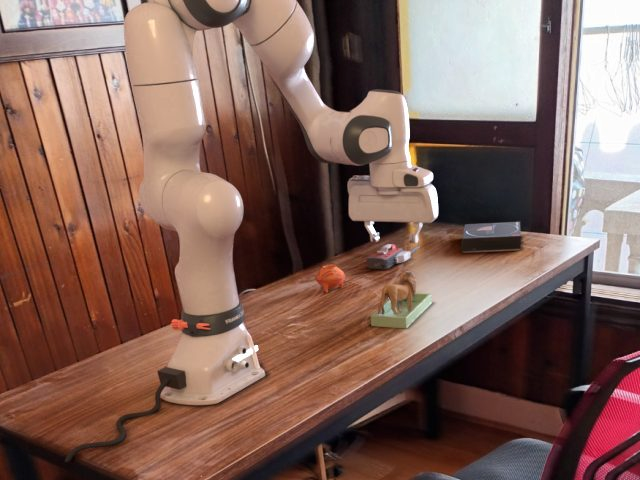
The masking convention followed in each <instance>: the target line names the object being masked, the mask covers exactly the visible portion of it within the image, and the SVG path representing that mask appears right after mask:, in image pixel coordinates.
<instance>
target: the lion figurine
mask: <svg viewBox="0 0 640 480" xmlns="http://www.w3.org/2000/svg"><path fill="white" fill-rule="evenodd" d="M399 277H400V278H399V280H398V284H393V283H389V284H386V285H384V286H383V288H382V290H381V297H380V301H379V303H378V305H377V310H378V315H382V314H384V313H385V311H384V304H385V303H386V302H387V301H388V300H390V301H391V304H392V306H391V309H392V311H393V313H394V314H395V315H399V314H400V313H399V312H402V300H407V301H408V307H407V310H408V312H410V311H412V310H411V306H412V297H413V296H414V295H415V293H417V289H416V288H417V280H416V279H417V278H416V276H415V274H414V273H413V272H412V271H409V270H405V271H403V272H401V273H400V274H399ZM397 301H398V310H397V311H399V312H397V311H396V309H395V306H396V302H397ZM381 308H382V311H381Z"/></svg>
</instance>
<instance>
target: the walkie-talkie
mask: <svg viewBox="0 0 640 480" xmlns="http://www.w3.org/2000/svg"><path fill="white" fill-rule="evenodd" d="M420 248H421V247H420V245H416V246H415V247H413V248H412V249H410V250H404V249H403V248H402V247H396V244H393V243H392V244H391V243H387V244H385V245H383V246H382V247H381V248H380V250H377V251H376V252H375V253H374V254H372V255H370V256H368V257H367V258H366V265H367V269H370V270H385V271H386V270H388V269H390V268H391V267H393V266H394V265H396V264H402V263H404V262H406V261H408V260H410V259H411V255H412V254H413V253H415V252H417V250H418V249H420Z"/></svg>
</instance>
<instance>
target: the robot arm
mask: <svg viewBox="0 0 640 480" xmlns="http://www.w3.org/2000/svg"><path fill="white" fill-rule="evenodd" d="M230 24H233V25H234V26H235V27H236V28H237V29H238V31H239V32H240V33H241V35H242V36H243V38H244V39H245V41H246V42H247V43H248V44H249V46H250V47H251V49H252V50H253V52H254V53H255V55H256V56H257V57H258V59H259V60H260V61H261V63H262V64H263V65H264V67H265V69H266V71H267V73H268V75H269V77H270V79H271V81H272V83H273V84H274V86H275V88H276V90H277V91H278V92H279V94H280V95H281V97H282V99H283V101H284V102H285V103H286V105H287V107H288V108H289V110H290V111H291V113H292V115H293V116H294V118H295V119H296V121H297V123H298V125H299V126H300V128H301V131H302V135H303V137H304V140H305V143H306V146H307V149H308V151H309V153H310V154H311V156H312V157H313V158H314V159H315V160H317V161H318V162H320V163H323V164H341V165H347V166H358V167H360V166H365V165H368V164H369V165H368V166H369V174H368V175H367V174H365V175H358V174H357V175H352V177H350V178H349V179H348V181H347V193H348V217H349V218H350V219H351V221H353V222H364V227H365V229H366V230H367V232H368V234H369V241H370V242H372V243H377V242H380V232H377V231H376V230H375V228H374V226H373V225H374V224H375V222H379V223H380V222H382V223H384V222H385V223H412V225H413V226H412V227H413V228H414V229H415V230H414V231H413V233H411V234H409V235H408V238H409V239H408V240H409V241H408V242H409V244H418V243H419V234H420V232H421V230H422V228H423V225H424V224H432V223H433V222H434V221H435V220H436V219H438V216H439V203H438V202H439V201H438V193H437V189H436V187H435V186H434V185H433V184H432V182H433V180H434V173H433V172H432V171H431V170H429V169H426V168H423V167H420V166H418V165H415V164H412V159H411V158H412V157H411V154H410V150H409V142H410V136H411V135H410V134H411V133H410V118H409V109H408V105H407V100H406V98H405V96H404V95H403V94H402V93H401V92H400V91H396V90H389V89H378V88H377V89H371V90H369V91H368V92H367V95H366V97H364V99H363V100H362V102H360V103H359V104H358V105H357V106H356V107H354V108H352V109H351V110H349V111H338V110H335V109H333V108H331V107H329V106H328V105H326V104H325V103H324V102H323V100H322V99H321V97H320V95H319V94H318V92H317V90H316V88H315V87H314V85H313V83H312V82H311V80H310V78H309V77H308V74H307V73H306V70H305V65H306V64H307V62H308V61H309V59H310V58H311V56H312V53H313V50H314V45H315V32H314V30H313V28H312V25H311V22H310V21H309V18H308V17H307V15H306V13H305V11H304V9H303V8H302V6H301V5H300V4H299V2H298V0H141V3H140V4H138V5H137V4H136V5H135V6H134V7H132V8H131V9H130V10H128V12H127V13H126V15H125V17H124V20H123V39H124V50H125V58H126V64H127V65H126V66H127V70H128V75H129V80H130V85H131V90H132V94H133V98H134V103H135V107H136V112H137V116H138V121H139V126H140V130H141V137H142V147H143V148H142V151H143V177H142V180H141V182H140V184H139V189H138V201H139V203H140V207H141V209H142V211H143V212H144V214H145V215H146V216H147V217H148V218H150V220H152V221H153V222H154V223H156V224H157V225H159V226H160V227H161V228H163V229H165V230H170V231H173V232H176V233H177V236H178V239H179V257H178V258H179V259H178V262H177V263H176V266H175V268H174V276H175V280H176V285H177V290H178V294H179V298H180V303H181V307H182V309H181V315H180V316H181V317H180V319H176V318H174V319H173V318H172V320H171V323H170V328H171V329H172V330H173V331H178V330H179V331H181V332H182V333H181V335H180V338H179V340H178V342H177V344H176V346H175V348H174V350H173V352H172V355H171V357H170V359H169V361H168V362H167V366H164V367H162V368H160V369H158V370H157V376H158V379H159V384H160V385H159V386H158V387H157V389H156V390H155V391H156V392H155V394H154V400H155V401H154V402H155V405H154V406H153V407H152V408H151V409H148V410H146V411H140V412H132V413H125V414H124V415H122V416H120V417H119V418H118V419H117V420H116V422H115V425H116V428H117V430H118V432H119V435H118V436H117V437H116V438H114V439H111V440H106V441H95V442H87V443H83V444H80V445H78V446H75V447H74V448H72V449H71V450H70V451H69V452H68V454H67V455H66V456H65V458H64V462H65V463H68V462H71V461H72V459H73V458H74V457H75V455H76V454H78V453H80V452H81V451H85V450H88V449H89V450H90V449H95V448H97V449H98V448H108V447H112V446H115V445H118V444H120V443H121V442H122V441H124V439H125V438H126V436H127V433H126V429H125V428H124V427H123V425H122V424H123V423H124V422H125V421H127V420H130V419H136V418H137V419H138V418H140V417H146V416H150V415H154V414H155V413H157V411H159V409H160V408H161V404H162V403H161V400H163V401H165V402H169V403H173V404H177V405H187V406H210V405H216V404H219V403H220V402H222V401H225V400H226V399H228V398H230V397H231V396H233V395H235V394H236V393H239V392H240V391H242V390H243V389H245V388H247V387H249V386H251V385H252V384H254V383H256V382H257V381H260V380H261V379H263V378H264V377H265V376H266V372H265V370H264V369H263V368H262V367H261V366H260V361H259V358H258V355H257V352H258V351H259V346H258V345H257V344H256V345H254V341H253V338H252V336H251V334H250V332H249V331H248V329H247V327H246V325H245V311H244V310H245V309H244V307H243V304H242V301H241V300H240V299H239V294H238V287H237V282H236V281H237V280H236V275H235V271H234V270H235V269H234V261H233V258H234V257H233V253H234V243H235V241H234V240H235V234H236V232H237V231H238V229H239V228H240V226H241V224H242V221H243V218H244V210H245V209H244V203H243V201H244V200H243V198H242V195H241V193H240V191H238V189H237V188H236V187H235V186H234V185H233V184H232V183H230V182H229V181H227V180H226V179H224V178H222V177H220V176H218V175H216V174H213V173H210V172H205V171H204V172H203V171H202V170H201V164H200V163H201V161H200V160H201V159H200V158H201V146H202V142H203V141H202V140H203V139H204V137H205V135H206V131H207V122H206V117H205V112H204V106H203V100H202V95H201V90H200V85H199V80H198V74H197V70H196V69H197V68H196V66H195V61H194V53H193V52H194V51H193V50H194V49H193V48H194V40H195V36H196V33H197V32H198V31H200V32H202V31H207V30H212V29H219V28H223V27H226V26H228V25H230Z"/></svg>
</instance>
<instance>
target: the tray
mask: <svg viewBox="0 0 640 480" xmlns="http://www.w3.org/2000/svg"><path fill="white" fill-rule="evenodd" d="M432 296H433V295H432V293H427V292H426V293H425V292H415V295H414V296H413V297H412V306H411V310H412V311H410V312H408V310H407V307H408V301H407V300H402V312H399V311H397V310H398V301H397V302H396V306H395V309H396V311H397V312H399V313H400V314H399V315H395V314H394V313H393V311H392V309H391V306H392V304H391V301H390V299H387V300H386V302H385V303H384V311H385V313H384V314H382V315H378V309H377V310H376V311H375V312H373V313H372V314H371V315H370V324H371V327H380V328H392V329H393V328H395V329H396V328H397V329H408V328H409V327H410V326H411V325H412V324H413V323H414V322H415V321H416V320H417V319H418V318H419V317H420V316H421V315H422V314H423V313H424V312H425V311H426V310H427V309H428V308H429V307H430V306H432V304H433V299H432ZM381 311H382V308H381Z"/></svg>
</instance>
